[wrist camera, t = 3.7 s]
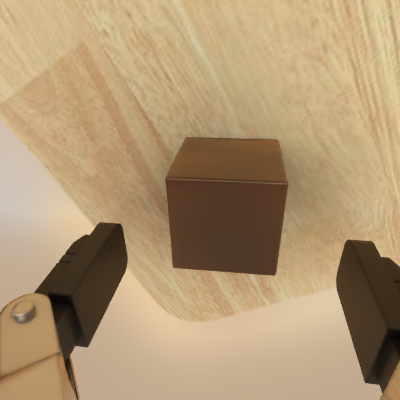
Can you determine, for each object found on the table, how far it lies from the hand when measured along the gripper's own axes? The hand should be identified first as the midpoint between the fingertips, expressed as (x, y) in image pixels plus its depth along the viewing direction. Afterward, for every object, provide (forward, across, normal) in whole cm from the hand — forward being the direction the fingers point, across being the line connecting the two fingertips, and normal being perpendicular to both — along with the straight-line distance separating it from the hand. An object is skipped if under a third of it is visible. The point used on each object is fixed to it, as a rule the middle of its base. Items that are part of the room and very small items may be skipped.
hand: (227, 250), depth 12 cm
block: (+6, 0, 0) cm, 6 cm away
